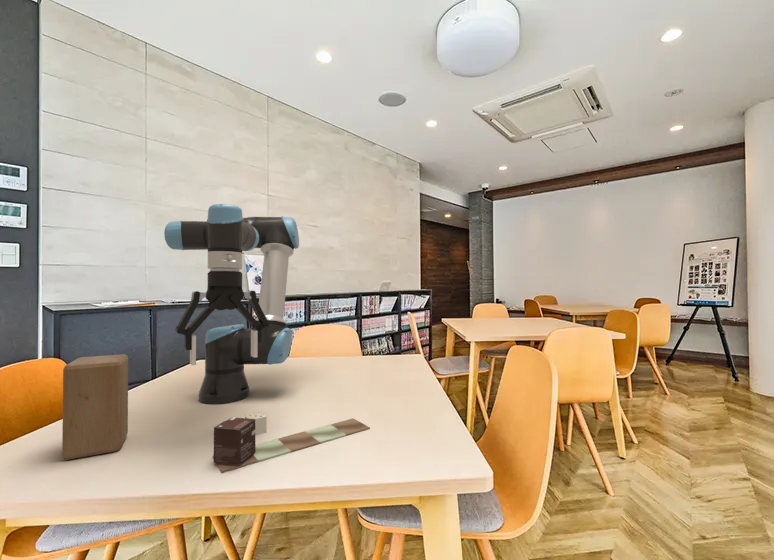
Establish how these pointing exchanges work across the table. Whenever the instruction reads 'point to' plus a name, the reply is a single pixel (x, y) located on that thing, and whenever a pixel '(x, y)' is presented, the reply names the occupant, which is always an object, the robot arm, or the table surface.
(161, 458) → the table surface
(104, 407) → the wooden block
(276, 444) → the track
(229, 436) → the box
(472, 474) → the table surface
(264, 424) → the die
